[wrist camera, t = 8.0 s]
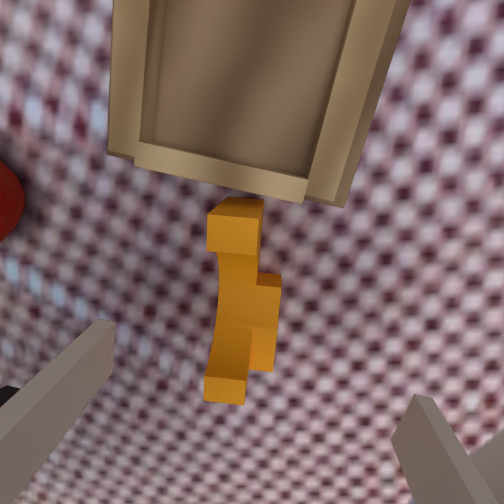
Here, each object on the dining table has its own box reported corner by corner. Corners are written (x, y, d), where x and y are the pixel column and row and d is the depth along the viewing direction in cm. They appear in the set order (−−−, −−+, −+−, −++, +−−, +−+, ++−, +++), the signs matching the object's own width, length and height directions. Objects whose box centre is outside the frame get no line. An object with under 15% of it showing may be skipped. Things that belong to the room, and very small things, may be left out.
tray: (114, 154, 20) (83, 154, 17) (133, -227, 14) (91, -340, 11) (340, 205, 20) (352, 215, 17) (455, -158, 14) (509, -250, 11)
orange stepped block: (273, 344, 24) (271, 408, 18) (221, 338, 24) (203, 400, 18) (289, 201, 20) (294, 222, 14) (228, 196, 21) (207, 214, 14)
